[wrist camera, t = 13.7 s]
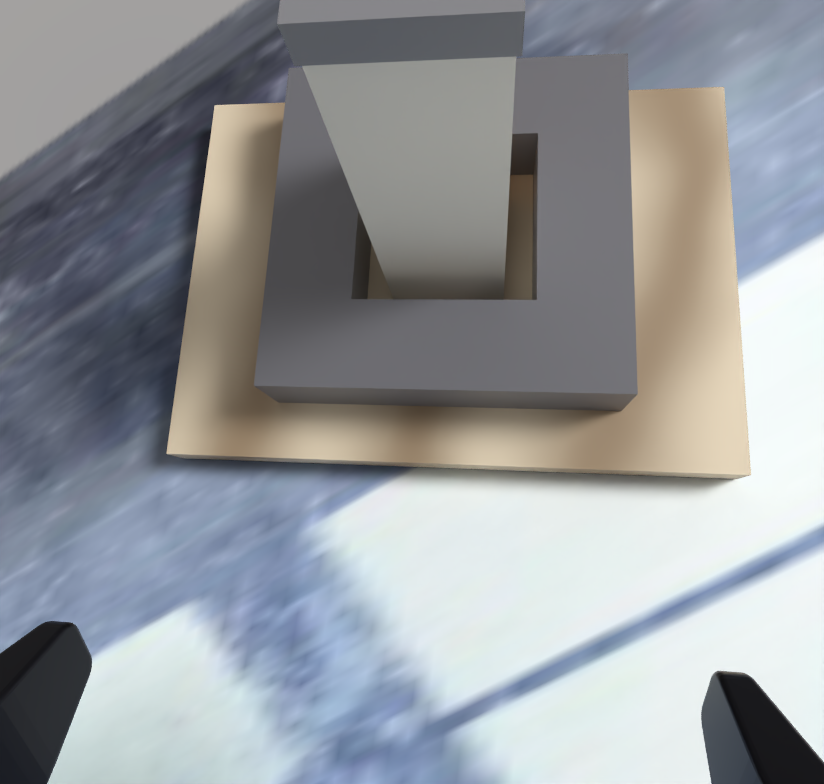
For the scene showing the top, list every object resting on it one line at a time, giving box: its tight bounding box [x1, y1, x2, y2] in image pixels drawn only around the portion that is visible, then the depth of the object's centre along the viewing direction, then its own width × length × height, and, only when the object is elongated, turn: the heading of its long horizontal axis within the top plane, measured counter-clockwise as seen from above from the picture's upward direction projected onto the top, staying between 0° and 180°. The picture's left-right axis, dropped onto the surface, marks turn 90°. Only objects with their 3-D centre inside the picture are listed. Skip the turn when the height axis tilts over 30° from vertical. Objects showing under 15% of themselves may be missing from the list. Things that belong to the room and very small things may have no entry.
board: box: [166, 87, 751, 479], centre depth 24 cm, size 20×14×1 cm
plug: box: [277, 0, 525, 300], centre depth 18 cm, size 4×5×13 cm
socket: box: [254, 54, 638, 411], centre depth 23 cm, size 12×12×2 cm
